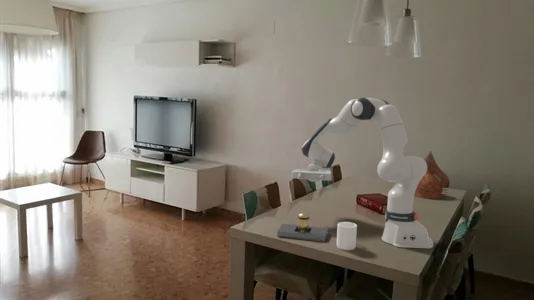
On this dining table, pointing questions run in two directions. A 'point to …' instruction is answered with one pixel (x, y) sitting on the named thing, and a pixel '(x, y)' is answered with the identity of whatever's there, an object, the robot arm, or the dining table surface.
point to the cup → (346, 235)
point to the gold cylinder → (303, 222)
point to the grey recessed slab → (302, 233)
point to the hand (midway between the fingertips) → (309, 177)
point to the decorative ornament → (432, 181)
